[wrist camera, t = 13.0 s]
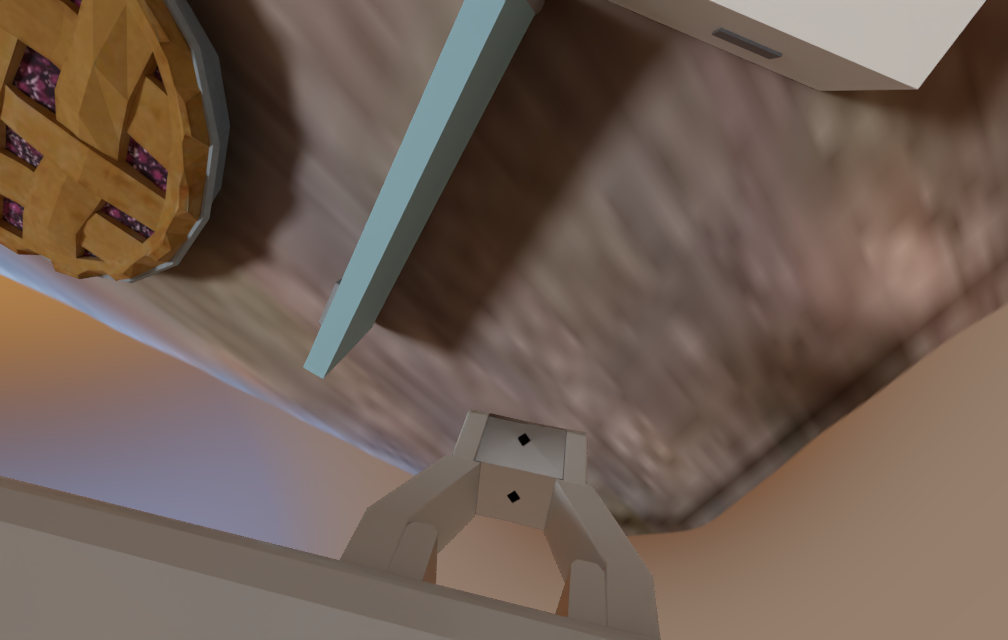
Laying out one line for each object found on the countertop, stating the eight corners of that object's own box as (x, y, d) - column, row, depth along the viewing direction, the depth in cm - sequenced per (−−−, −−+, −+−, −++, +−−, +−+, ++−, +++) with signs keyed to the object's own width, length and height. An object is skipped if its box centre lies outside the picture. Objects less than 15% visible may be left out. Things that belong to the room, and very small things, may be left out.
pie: (317, 37, 21) (247, 23, 17) (200, 320, 32) (137, 356, 27) (-123, -334, 18) (-351, -469, 14) (-95, 118, 28) (-220, 123, 24)
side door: (551, -10, 19) (533, -57, 13) (375, 325, 29) (320, 384, 23) (511, -40, 18) (473, -101, 13) (347, 309, 28) (285, 363, 23)
